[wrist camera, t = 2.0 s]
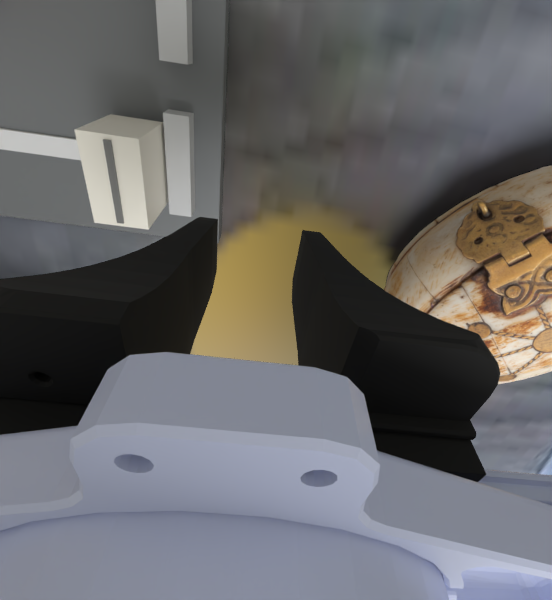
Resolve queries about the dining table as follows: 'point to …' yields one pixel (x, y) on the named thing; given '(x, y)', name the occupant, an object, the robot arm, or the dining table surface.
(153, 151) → the fader
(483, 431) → the dining table surface
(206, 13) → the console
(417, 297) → the trinket box
